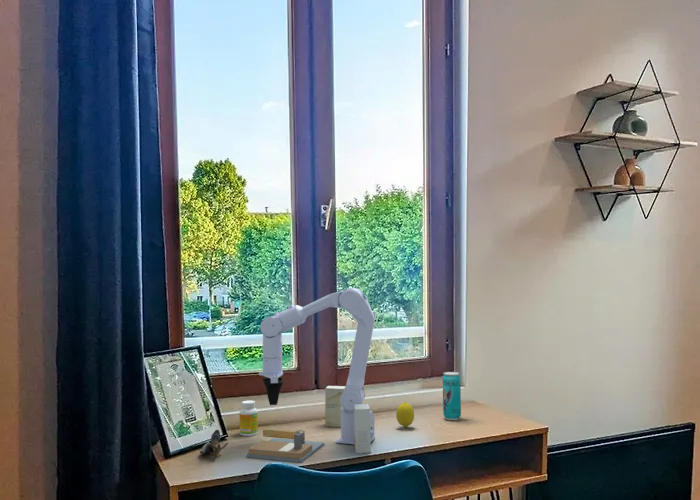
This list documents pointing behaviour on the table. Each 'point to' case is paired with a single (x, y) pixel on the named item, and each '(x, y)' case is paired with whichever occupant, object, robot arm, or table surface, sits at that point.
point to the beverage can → (451, 396)
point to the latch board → (285, 449)
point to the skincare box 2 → (362, 428)
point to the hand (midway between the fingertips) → (272, 403)
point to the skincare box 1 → (333, 405)
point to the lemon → (405, 414)
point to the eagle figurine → (213, 445)
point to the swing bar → (283, 433)
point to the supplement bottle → (248, 419)
